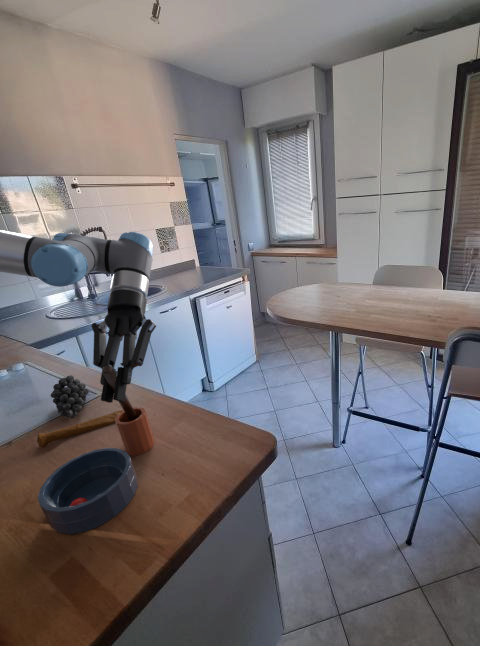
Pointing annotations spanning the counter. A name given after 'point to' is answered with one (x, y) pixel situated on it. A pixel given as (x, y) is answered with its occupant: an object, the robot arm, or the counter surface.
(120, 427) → the crock
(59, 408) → the fruit
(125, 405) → the stick
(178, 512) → the counter surface
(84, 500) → the tomato
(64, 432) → the primitive tool
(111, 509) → the bowl
